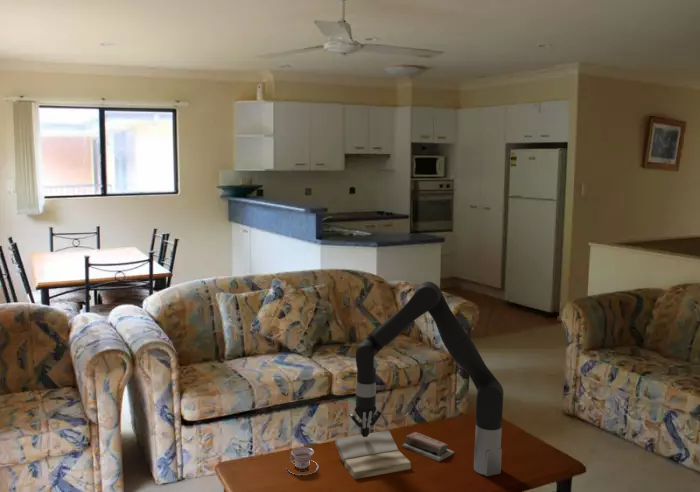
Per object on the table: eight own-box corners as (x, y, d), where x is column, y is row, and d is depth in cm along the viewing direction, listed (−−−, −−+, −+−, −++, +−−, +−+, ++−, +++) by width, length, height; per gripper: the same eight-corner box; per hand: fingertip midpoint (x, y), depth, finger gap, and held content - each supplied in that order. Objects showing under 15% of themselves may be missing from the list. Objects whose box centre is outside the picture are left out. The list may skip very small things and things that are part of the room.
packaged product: (401, 436, 263) (417, 428, 270) (401, 447, 264) (416, 439, 271) (439, 450, 251) (454, 442, 258) (439, 463, 252) (454, 454, 259)
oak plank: (410, 468, 246) (410, 462, 245) (354, 479, 238) (354, 472, 237) (398, 456, 255) (398, 450, 255) (344, 466, 247) (344, 459, 246)
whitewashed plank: (396, 453, 256) (398, 449, 255) (343, 463, 248) (344, 458, 247) (387, 434, 264) (388, 430, 262) (335, 442, 255) (336, 438, 254)
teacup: (312, 458, 253) (313, 442, 252) (323, 473, 242) (323, 457, 241) (282, 463, 249) (282, 447, 248) (291, 478, 238) (291, 462, 237)
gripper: (353, 398, 248) (352, 442, 250) (386, 394, 253) (384, 437, 255) (345, 391, 255) (345, 434, 257) (377, 387, 259) (376, 429, 262)
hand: (364, 436), depth 256 cm, fingers closed
